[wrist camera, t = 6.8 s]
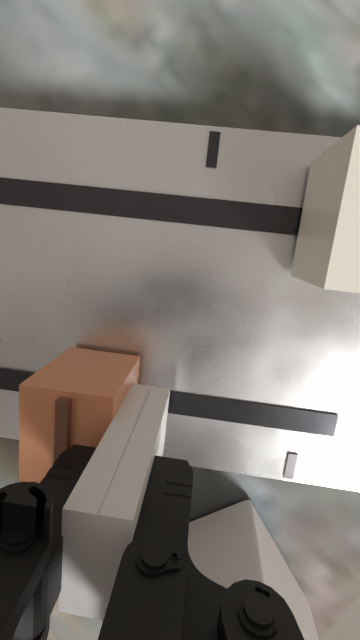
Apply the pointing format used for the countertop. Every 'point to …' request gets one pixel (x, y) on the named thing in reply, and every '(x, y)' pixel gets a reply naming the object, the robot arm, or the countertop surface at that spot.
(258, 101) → the countertop surface
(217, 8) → the countertop surface
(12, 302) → the console
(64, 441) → the fader
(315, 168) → the block
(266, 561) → the milk carton
